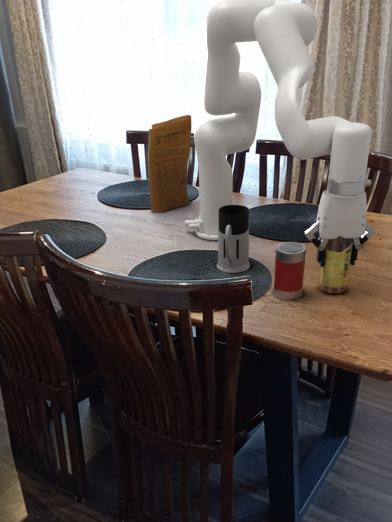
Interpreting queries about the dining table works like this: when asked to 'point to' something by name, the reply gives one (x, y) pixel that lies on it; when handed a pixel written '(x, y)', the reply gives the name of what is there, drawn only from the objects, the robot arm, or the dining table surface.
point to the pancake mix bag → (169, 163)
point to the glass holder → (233, 238)
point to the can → (289, 270)
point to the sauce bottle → (336, 265)
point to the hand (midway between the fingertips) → (335, 263)
